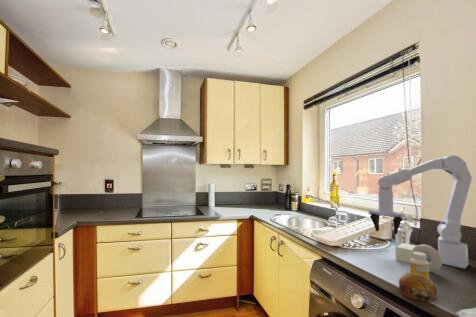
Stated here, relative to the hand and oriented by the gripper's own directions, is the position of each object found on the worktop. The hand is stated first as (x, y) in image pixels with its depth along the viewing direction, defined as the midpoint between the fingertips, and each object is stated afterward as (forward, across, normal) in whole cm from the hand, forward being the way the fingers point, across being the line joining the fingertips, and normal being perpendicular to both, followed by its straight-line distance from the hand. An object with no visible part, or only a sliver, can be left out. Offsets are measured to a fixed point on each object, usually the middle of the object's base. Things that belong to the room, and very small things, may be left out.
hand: (386, 232), depth 118 cm
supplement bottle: (+10, +18, -22) cm, 30 cm away
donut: (+10, +17, -10) cm, 22 cm away
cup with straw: (+10, +3, +12) cm, 16 cm away
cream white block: (+10, +8, 0) cm, 13 cm away
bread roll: (+10, +20, -33) cm, 40 cm away
